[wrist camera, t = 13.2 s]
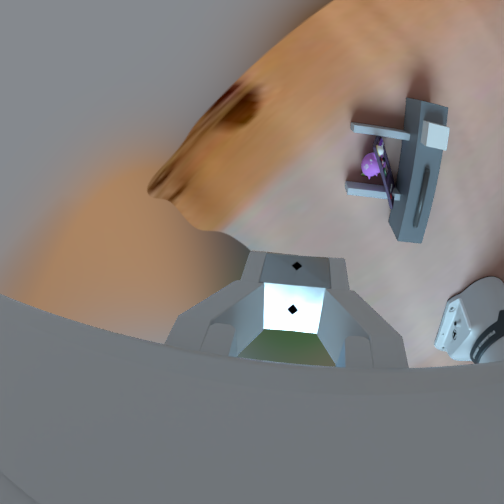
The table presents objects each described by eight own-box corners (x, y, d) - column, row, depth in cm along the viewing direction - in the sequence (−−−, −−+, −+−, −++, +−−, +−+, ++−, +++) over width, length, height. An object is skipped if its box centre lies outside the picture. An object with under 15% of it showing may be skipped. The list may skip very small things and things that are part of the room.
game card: (398, 208, 35) (380, 144, 31) (362, 213, 38) (342, 153, 34) (400, 187, 39) (384, 131, 35) (369, 192, 43) (351, 138, 39)
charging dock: (410, 224, 42) (425, 250, 36) (341, 216, 44) (346, 243, 38) (430, 103, 31) (454, 109, 25) (352, 88, 33) (363, 89, 27)
